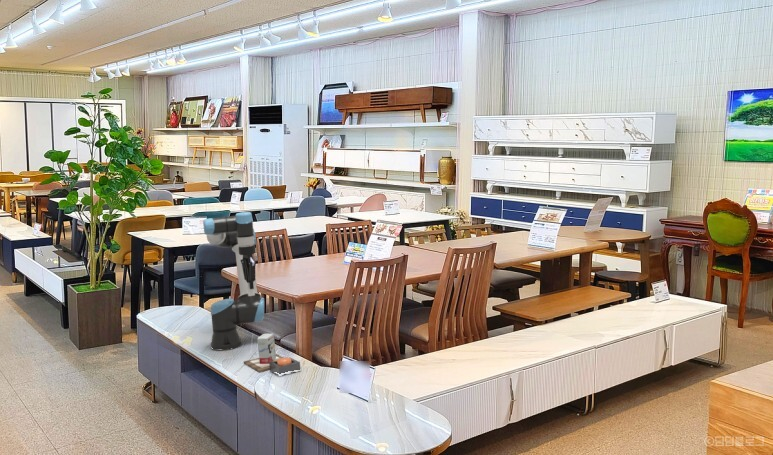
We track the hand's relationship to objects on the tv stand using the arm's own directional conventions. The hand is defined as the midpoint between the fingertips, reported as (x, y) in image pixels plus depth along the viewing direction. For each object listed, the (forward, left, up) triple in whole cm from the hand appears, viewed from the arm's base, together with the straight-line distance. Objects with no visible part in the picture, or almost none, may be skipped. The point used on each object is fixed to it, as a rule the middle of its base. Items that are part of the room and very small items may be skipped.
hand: (251, 295), depth 319 cm
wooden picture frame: (+8, +12, -29) cm, 33 cm away
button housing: (+14, +27, -29) cm, 42 cm away
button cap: (+14, +27, -28) cm, 42 cm away
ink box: (+8, +12, -28) cm, 32 cm away
